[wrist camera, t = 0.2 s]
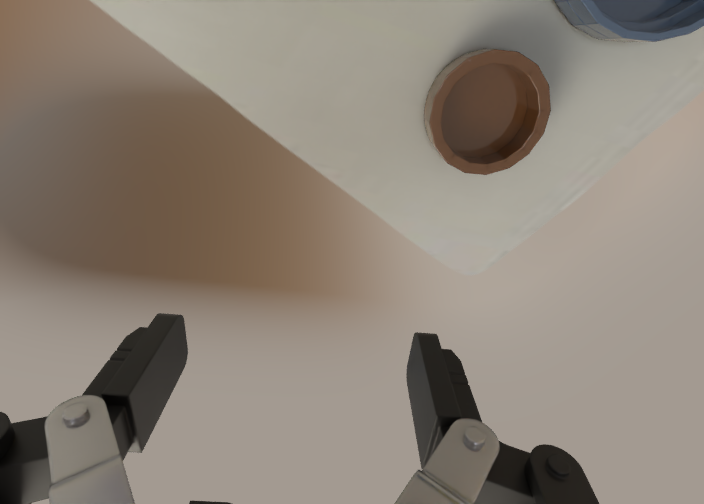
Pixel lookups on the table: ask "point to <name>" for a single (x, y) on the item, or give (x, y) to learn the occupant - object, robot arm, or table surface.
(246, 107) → the table surface
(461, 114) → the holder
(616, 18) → the bowl
